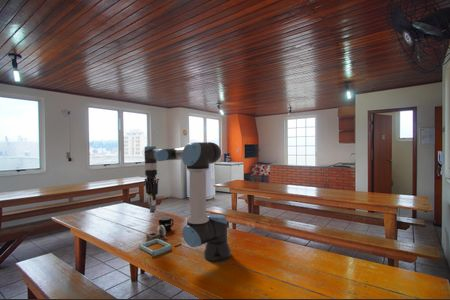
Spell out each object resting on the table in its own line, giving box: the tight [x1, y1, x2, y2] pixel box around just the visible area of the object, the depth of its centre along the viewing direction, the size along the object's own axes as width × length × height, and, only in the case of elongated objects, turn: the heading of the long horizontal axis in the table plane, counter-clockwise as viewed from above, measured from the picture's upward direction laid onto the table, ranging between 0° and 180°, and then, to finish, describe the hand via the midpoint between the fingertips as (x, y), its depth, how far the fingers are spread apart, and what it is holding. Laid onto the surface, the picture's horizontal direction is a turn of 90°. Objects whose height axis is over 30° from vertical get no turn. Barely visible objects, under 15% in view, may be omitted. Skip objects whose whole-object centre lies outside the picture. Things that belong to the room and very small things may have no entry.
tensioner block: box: [145, 224, 167, 242], centre depth 168 cm, size 8×12×9 cm, turn 137°
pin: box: [149, 194, 156, 214], centre depth 166 cm, size 3×3×12 cm
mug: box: [158, 215, 174, 233], centre depth 186 cm, size 12×9×10 cm
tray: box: [138, 239, 173, 258], centre depth 153 cm, size 16×13×3 cm
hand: (152, 204), depth 166 cm, fingers closed on pin, 3 cm apart
